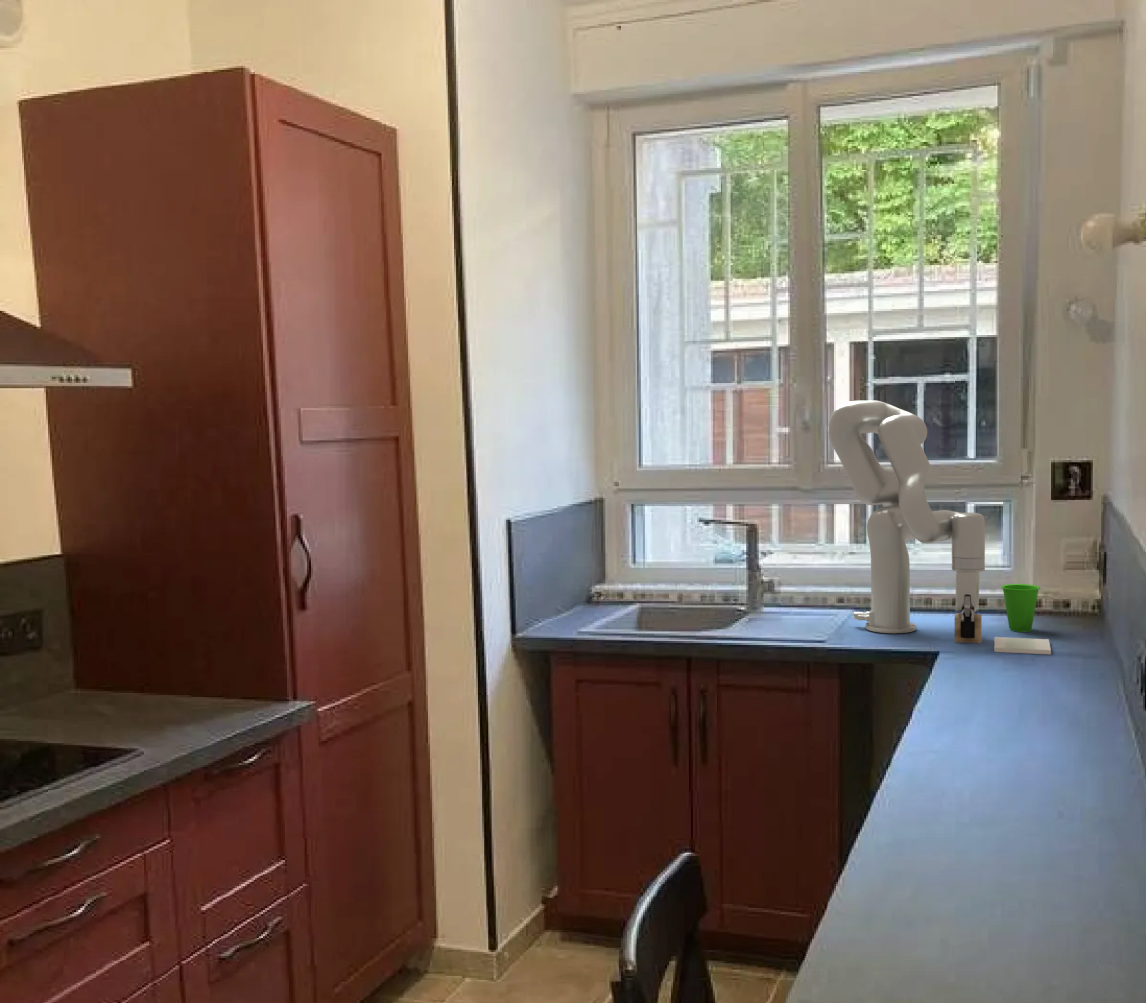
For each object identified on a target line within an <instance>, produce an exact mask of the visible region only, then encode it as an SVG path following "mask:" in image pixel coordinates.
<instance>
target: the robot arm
mask: <svg viewBox="0 0 1146 1003" xmlns="http://www.w3.org/2000/svg"><path fill="white" fill-rule="evenodd" d="M827 429H828V430H827V431H828V437H829V440H830V443H831V446H832V447H833V450H834V452H835V453H836V455H837V457H838V460H839V461H840V463H841V465H842V467H843V468H844V472H845V474H846V476H847V478H848V481H849V482H850V484H851V486H852V488H853V490H854V493H855V495H856V498H857V499H858V500H859V501H860V503H862V504H864V505H867V506H877V505H882V507H880V508H877V509H876V510H875V511H873V512H872V513H871V515H869V518H868V520H867V524H866V531H867V538H868V542H869V549H870V552H869V553H870V586H871V588H870V589H871V590H870V592H871V594H870V596H871V597H870V598H871V599H870V602H871V603H870V604H871V605H870V606H871V608H870V610H869V611H866V612H862V611H854V612H853V619H854V620H857V621H866V623H865V624H864V625H865V626H864V628H865V629H866V630H867V631H870V632H874V633H882V634H906V633H913V632H914V631H916V630H917V624H916V623H914V622H911V604H910V603H911V598H910V597H911V594H910V593H911V592H910V591H911V590H910V589H911V587H910V586H911V584H910V583H911V582H910V581H911V580H910V579H911V574H910V573H911V572H910V570H911V569H910V568H911V567H910V556H909V551H908V547H907V544H906V542H907V541H911V540H915V539H916V541H918V542H920V543H923V544H933V543H939V542H944V541H949V540H951V570H952V571H955V572H956V573H955V574H956V575H955V611H956V612H957V613H959V611H961V614H962V621H961V638H975V621H974V614H976V612H977V611H978V605H979V596H980V573H981V572H984V571H985V570H986V569H985V568H986V566H985V564H986V556H985V554H986V553H985V552H986V548H985V547H986V544H985V542H986V536H985V535H986V522H985V521H986V520H985V516H984V515H983V513H982V514H981V513H978V512H959V511H953V510H947V509H942V510H941V509H940V510H932V508H931V507H930V504H929V501H928V500H927V496H926V493H925V484H926V480H927V478H928V477H929V475H930V473H931V471H932V466H931V464H930V462H929V460H928V456H927V455H926V452H925V451H924V448H923V446H922V444H923V443H924V442H925V441H926V439H927V436H928V428H927V425H926V423H925V422H924V419H922V418H921V417H919V416H918V415H916V414H914V413H912V412H909V411H906V410H905V409H901V408H898V407H896V406H894V405H892V404H889V403H887V402H884V401H881V400H853V401H852V400H851V401H847V402H844V403H842V404H840V405H838V406H837V407H836V409H834V411H833V412H832V414H831V416H830V419H829V422H828V428H827ZM872 433H873V434H877V436H878V439H879V441H880V443H881V445H882V448H883V450H884V452H885V454H886V457H887V458H888V460H889V463H890V465H891V466H882V465H881V464H880V463H879V461H878V459H877V457H876V455H875V453H874V450H873V449H872V447H871V445H870V444H868V442H867V441H866V439H864V438H863V436H862V434H872Z"/></svg>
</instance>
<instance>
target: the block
mask: <svg viewBox="0 0 1146 1003" xmlns="http://www.w3.org/2000/svg"><path fill="white" fill-rule="evenodd" d="M954 615H955V616H954V643H966V644H967V643H969V644H970V643H971V644H982V637H983V636H982V634H983V633H982V628H983V626H982V625H983V623H982V619H983V618H982V615H983V614H980V613H975V614H974V621H975V638H961V621H962V612H961V613H959V612H957V613H955V614H954Z"/></svg>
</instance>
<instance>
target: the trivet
mask: <svg viewBox="0 0 1146 1003" xmlns="http://www.w3.org/2000/svg"><path fill="white" fill-rule="evenodd" d="M993 647H994V648H993V650H994V653H995V652H996V653H1008V654H1009V653H1012V654H1029V655H1031V654H1032V655H1033V654H1035V655H1052V650H1051V644H1050V639H1049V638H1025V637H1024V638H1023V637H1005V636H1003V637H1002V636H1001V637H1000V636H994V646H993Z"/></svg>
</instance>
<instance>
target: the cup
mask: <svg viewBox="0 0 1146 1003" xmlns="http://www.w3.org/2000/svg"><path fill="white" fill-rule="evenodd" d="M1001 589H1002V591H1003V592H1002V593H1003V598H1004V605H1005V610H1006V617H1007V622H1008V628H1009V630H1010V631H1012V632H1018V633H1028V632H1031V631H1032V628H1033V623H1034V617H1035V612H1036V606H1037V600H1038V595H1039V590H1041V587H1040V586H1039V585H1035V584H1030V583H1029V584H1028V583H1027V584H1026V583H1007V584H1003V585H1001Z"/></svg>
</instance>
